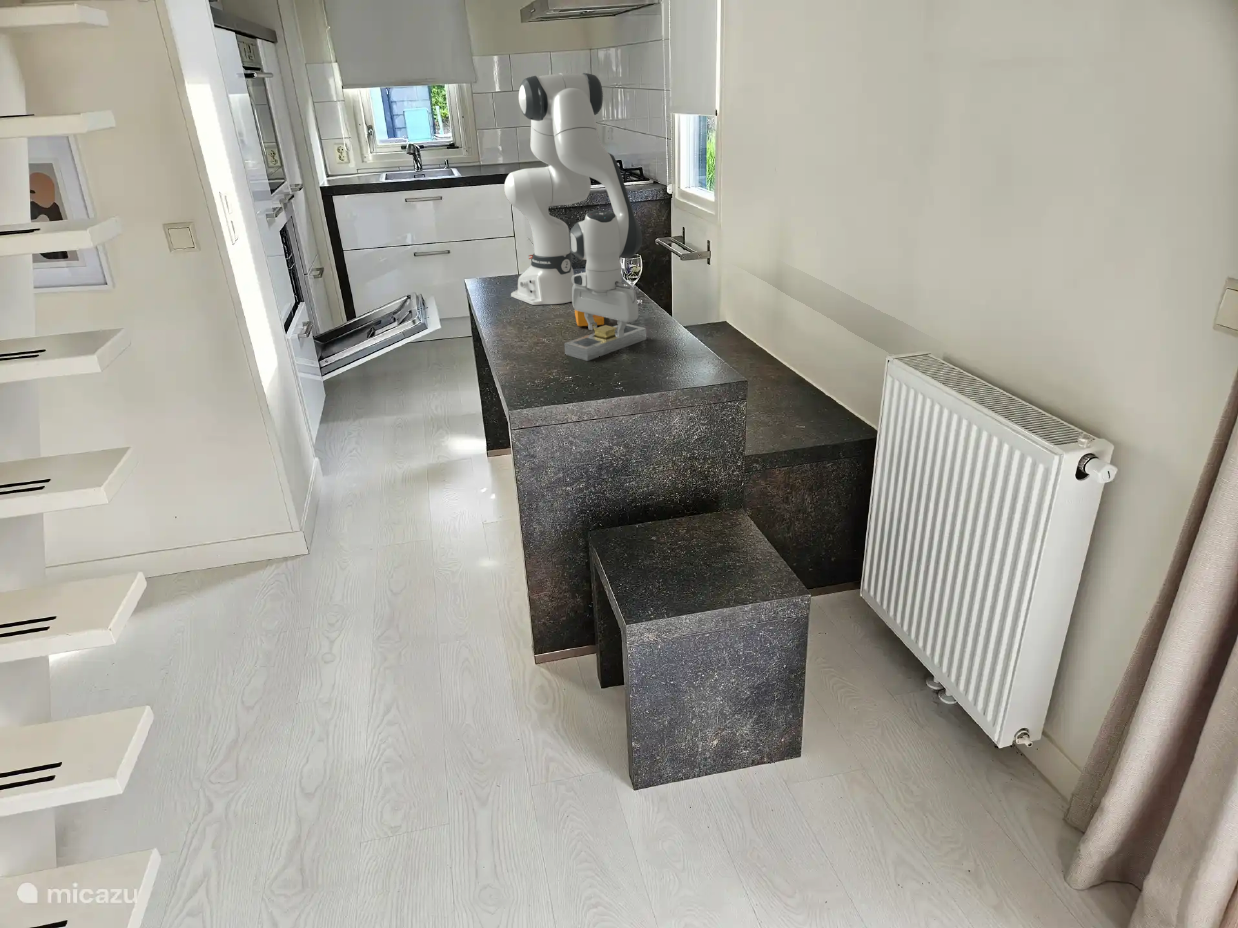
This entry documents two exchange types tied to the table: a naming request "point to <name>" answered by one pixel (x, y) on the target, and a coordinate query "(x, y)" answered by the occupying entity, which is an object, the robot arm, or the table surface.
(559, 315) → the table surface
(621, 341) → the grey rectangular frame
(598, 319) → the bracket
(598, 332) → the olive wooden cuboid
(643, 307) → the table surface
